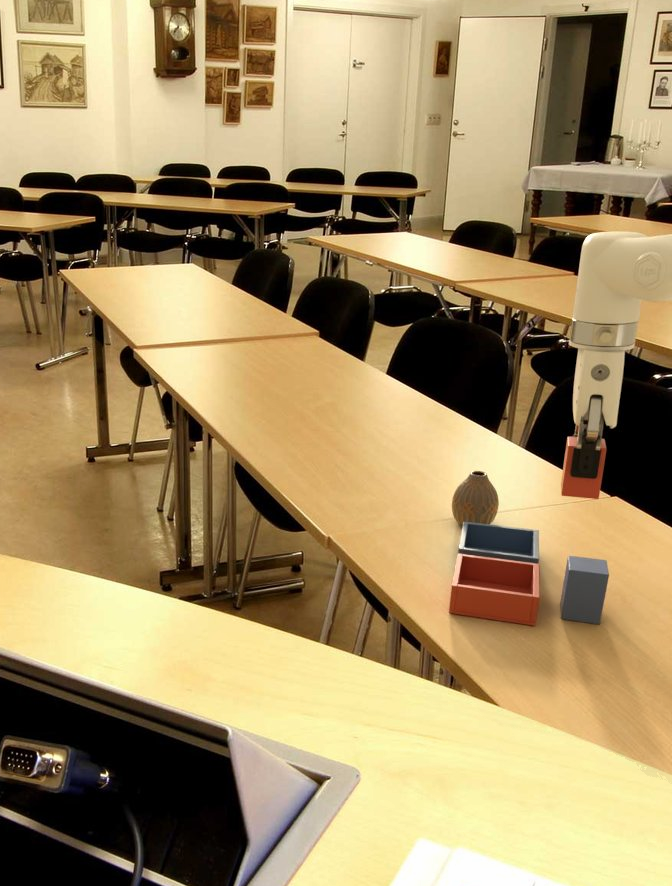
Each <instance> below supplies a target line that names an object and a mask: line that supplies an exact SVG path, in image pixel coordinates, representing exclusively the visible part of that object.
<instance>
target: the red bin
mask: <svg viewBox="0 0 672 886" xmlns="http://www.w3.org/2000/svg"><path fill="white" fill-rule="evenodd" d="M539 602H540V563H538V564H536V563H534V564H533V563H528V562H521V561H513V560H505V559H497V558H489V557H482V556H474V555H466V554H458V553H457V556H456V560H455V566H454V572H453V577H452V583H451V589H450V599H449V606H448V607H449V608H448V613H449V614H455V615H461V616H467V617H474V618H480V619H487V620H493V621H500V622H505V623H506V622H508V623H512V624H513V623H514V624H521V625H527V626H533V627H534V626H536V622H537V621H536V620H537V615H538V610H539Z"/></svg>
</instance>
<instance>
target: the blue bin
mask: <svg viewBox="0 0 672 886" xmlns="http://www.w3.org/2000/svg"><path fill="white" fill-rule="evenodd" d="M457 552H458V553H457V555H458V554H466V555H474V556H482V557H489V558H497V559H505V560H513V561H521V562H528V563H533V564H534V563H536V564H540V563H539V562H540V531H539V529H532V528H531V529H530V528H523V527H515V526H505V525H498V524H481V523H473V522H463V527H462V529H461V534H460V538H459V544H458V550H457Z"/></svg>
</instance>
